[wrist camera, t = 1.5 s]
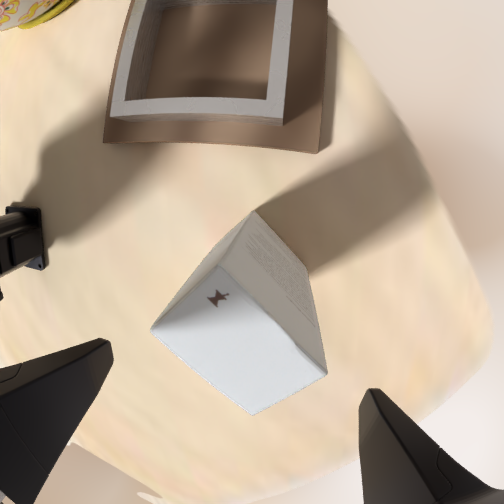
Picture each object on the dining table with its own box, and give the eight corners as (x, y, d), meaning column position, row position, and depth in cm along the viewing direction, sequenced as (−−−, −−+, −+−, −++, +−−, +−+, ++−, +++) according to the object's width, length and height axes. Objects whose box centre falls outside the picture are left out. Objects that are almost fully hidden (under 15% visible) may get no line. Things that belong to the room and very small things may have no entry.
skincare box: (212, 246, 22) (142, 328, 10) (254, 208, 20) (218, 258, 9) (267, 303, 22) (251, 420, 11) (309, 269, 21) (333, 373, 10)
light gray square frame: (131, 122, 18) (109, 117, 15) (154, 2, 15) (140, -14, 12) (282, 126, 17) (282, 118, 15) (293, -3, 14) (294, -24, 11)
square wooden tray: (110, 143, 20) (103, 142, 19) (138, 1, 16) (133, -5, 15) (315, 154, 19) (317, 153, 18) (325, -4, 15) (327, -11, 14)
